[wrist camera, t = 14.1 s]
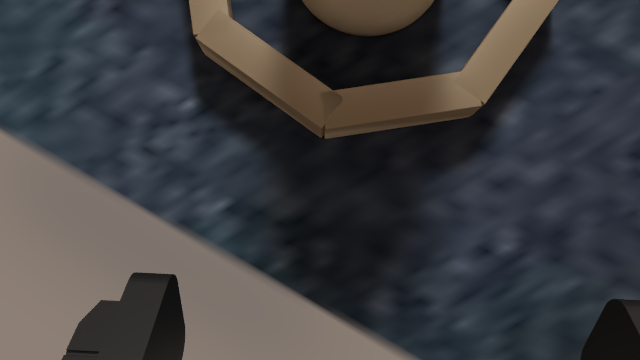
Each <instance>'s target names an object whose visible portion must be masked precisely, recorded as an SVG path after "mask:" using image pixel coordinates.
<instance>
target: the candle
mask: <svg viewBox="0 0 640 360" xmlns="http://www.w3.org/2000/svg"><path fill="white" fill-rule="evenodd" d="M302 1H303V3H304V4H305V6H306V7H307V8H308V9H309V10H310V11H311V13H312V14H313V15H314V16H316V17H317V18H318V19H319V20H320V21H322V22H323V23H325V24H326V25H328V26H330V27H332V28H334V29H336V30H338V31H341V32H344V33H347V34H351V35H356V36H380V35H385V34H389V33H392V32H396V31H398V30H400V29H403V28H405V27H406V26H408V25H410V24H411V23H413V22H414V21H415V20H417V19H418V18H419V17H420V16H421V15H422V14H423V13H424V12H425V11H426V10H427V9H428V8H429V7H430V6H431V5H432V3H433V2H434V0H302Z"/></svg>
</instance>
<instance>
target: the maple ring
mask: <svg viewBox="0 0 640 360" xmlns="http://www.w3.org/2000/svg"><path fill="white" fill-rule="evenodd" d="M557 2H558V0H512V1H511V2H510V3H509V5H508V6H507V7H506V9H505V10H504V12H503V13H502V14H501V16H500V17H499V19H498V20H497V21H496V23H495V24H494V25H493V27H492V28H491V30H490V31H489V32H488V34H487V35H486V37H485V38H484V39H483V41H482V42H481V43H480V45H479V46H478V48H477V49H476V50H475V52H474V53H473V55H472V56H471V57H470V59H469V60H468V62H467V63H466V64H465V66H464V67H463V68H462V70H461V71H460V72H454V73H448V74H441V75H434V76H428V77H421V78H414V79H407V80H401V81H394V82H387V83H380V84H374V85H367V86H360V87H354V88H347V89H340V90H332V89H330V88H329V87H327V86H326V85H325V84H323V83H322V82H320V81H319V80H317V79H316V78H315V77H313V76H312V75H310V74H309V73H308V72H306V71H305V70H303V69H302V68H301V67H299V66H298V65H296V64H295V63H293V62H292V61H291V60H289V59H288V58H286V57H285V56H284V55H282V54H281V53H279V52H278V51H277V50H275V49H274V48H272V47H271V46H270V45H268V44H267V43H265V42H264V41H262V40H261V39H260V38H258V37H257V36H255V35H254V34H253V33H251V32H250V31H248V30H247V29H246V28H244V27H243V26H241V25H240V24H239V23H237V22H236V21H234V20H233V14H232V7H231V0H189V5H190V12H191V20H192V28H193V35H194V37H195V38H196V40H197V42H198V44H199V46H200V47H201V49H202V51H203V53H204V54H205V55H206V56H207V57H209V58H210V59H212V60H213V61H214V62H216V63H217V64H218V65H220V66H221V67H223V68H224V69H225V70H227V71H228V72H230V73H231V74H232V75H234V76H235V77H237V78H238V79H239V80H241V81H242V82H244V83H245V84H246V85H248V86H249V87H251V88H252V89H253V90H255V91H256V92H257V93H259V94H260V95H262V96H263V97H264V98H266V99H267V100H269V101H270V102H271V103H273V104H274V105H276V106H277V107H278V108H280V109H281V110H283V111H284V112H285V113H287V114H288V115H289V116H291V117H292V118H294V119H295V120H296V121H298V122H299V123H301V124H302V125H303V126H305V127H306V128H308V129H309V130H310V131H312V132H313V133H315V134H316V135H317V136H319V137H320V138H322V136H323V135H324V138H325V139H329V138H335V137H342V136H348V135H355V134H362V133H368V132H375V131H381V130H388V129H395V128H401V127H408V126H414V125H421V124H428V123H434V122H441V121H448V120H454V119H461V118H467V117H470V116H471V115H473V114H474V113H475V112H476V111H477V110H479V109H480V108H481V107H482V106H483V105H484V104H485V103H486V102H487V100H488V99H489V98H490V96H491V95H492V93H493V92H494V90H495V89H496V88H497V86H498V85H499V83H500V82H501V81H502V79H503V78H504V76H505V75H506V74H507V72H508V71H509V69H510V68H511V67H512V65H513V64H514V62H515V61H516V59H517V58H518V57H519V55H520V54H521V52H522V51H523V50H524V48H525V47H526V45H527V44H528V43H529V41H530V40H531V38H532V37H533V36H534V34H535V33H536V31H537V30H538V28H539V27H540V26H541V24H542V23H543V21H544V20H545V19H546V17H547V16H548V14H549V13H550V12H551V10H552V9H553V7H554V6H555V4H556V3H557Z"/></svg>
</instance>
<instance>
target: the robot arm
mask: <svg viewBox="0 0 640 360" xmlns="http://www.w3.org/2000/svg"><path fill="white" fill-rule="evenodd" d="M184 343H185V324H184V318H183V311H182V305H181V299H180V294H179V287H178V281H177V278H176V276H175V275H173V274H155V273H133V274H132V275H131V277H130V278H129V281H128V283H127V285H126V287H125V290H124V292H123V295H122V297H121V300H120V301H106V300H101V301H100V302H99V303H98V304H97V305H96V306H95V307H94V308H93V309H92V310H91V311H90V312H89V313H88V314H87V315H86V316H85V318H83V319H82V320H81V321H80V323H79V324H78V326H77V328H76V330H75V333H74V335H73V337H72V339H71V341H70V343H69V345H68V347H67V352H66V355H64V356H63V358H62V360H182V356H183V351H184ZM581 360H640V300H624V299H612V300H610V301H609V302H608V303H607V304H606V306H605V307H604V309H603V311H602V313H601V315H600V317H599V319H598V321H597V322H596V324H595V326H594V328H593V330H592V332H591V334H590V336H589V338H588V339H587V341H586V343H585V345H584V347H583V350H582V354H581Z"/></svg>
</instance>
